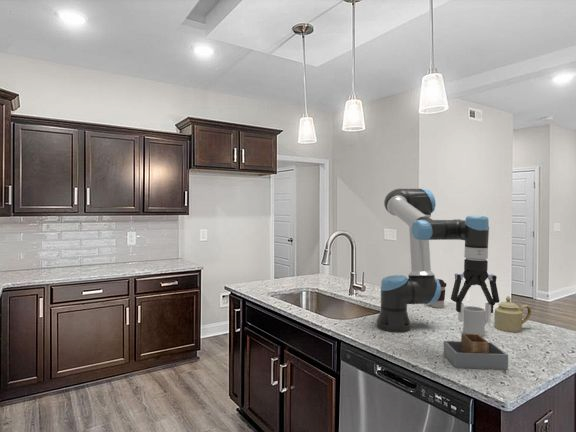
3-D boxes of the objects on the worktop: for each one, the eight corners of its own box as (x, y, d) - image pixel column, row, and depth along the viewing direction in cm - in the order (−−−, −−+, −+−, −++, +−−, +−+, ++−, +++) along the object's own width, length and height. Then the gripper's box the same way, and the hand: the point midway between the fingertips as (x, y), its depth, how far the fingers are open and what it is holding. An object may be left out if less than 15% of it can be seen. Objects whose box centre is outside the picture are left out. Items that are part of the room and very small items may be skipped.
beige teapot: (508, 322, 185) (509, 291, 184) (532, 329, 175) (533, 296, 174) (488, 326, 178) (489, 294, 177) (512, 334, 168) (512, 300, 168)
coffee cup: (440, 309, 207) (441, 282, 206) (423, 306, 214) (424, 279, 214) (449, 306, 213) (449, 280, 213) (432, 303, 221) (432, 277, 220)
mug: (475, 337, 163) (475, 312, 162) (458, 331, 170) (459, 307, 170) (494, 334, 168) (494, 309, 168) (477, 328, 175) (477, 304, 175)
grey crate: (455, 367, 132) (455, 353, 132) (443, 353, 145) (443, 340, 144) (507, 369, 131) (508, 354, 131) (491, 355, 143) (491, 342, 143)
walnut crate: (470, 363, 133) (471, 342, 133) (461, 353, 142) (461, 333, 142) (488, 364, 133) (488, 342, 133) (477, 354, 142) (478, 334, 142)
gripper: (448, 260, 134) (447, 323, 135) (512, 261, 132) (510, 325, 133) (441, 256, 141) (440, 317, 142) (501, 257, 140) (500, 318, 141)
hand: (474, 321), depth 138 cm, fingers open, 9 cm apart
